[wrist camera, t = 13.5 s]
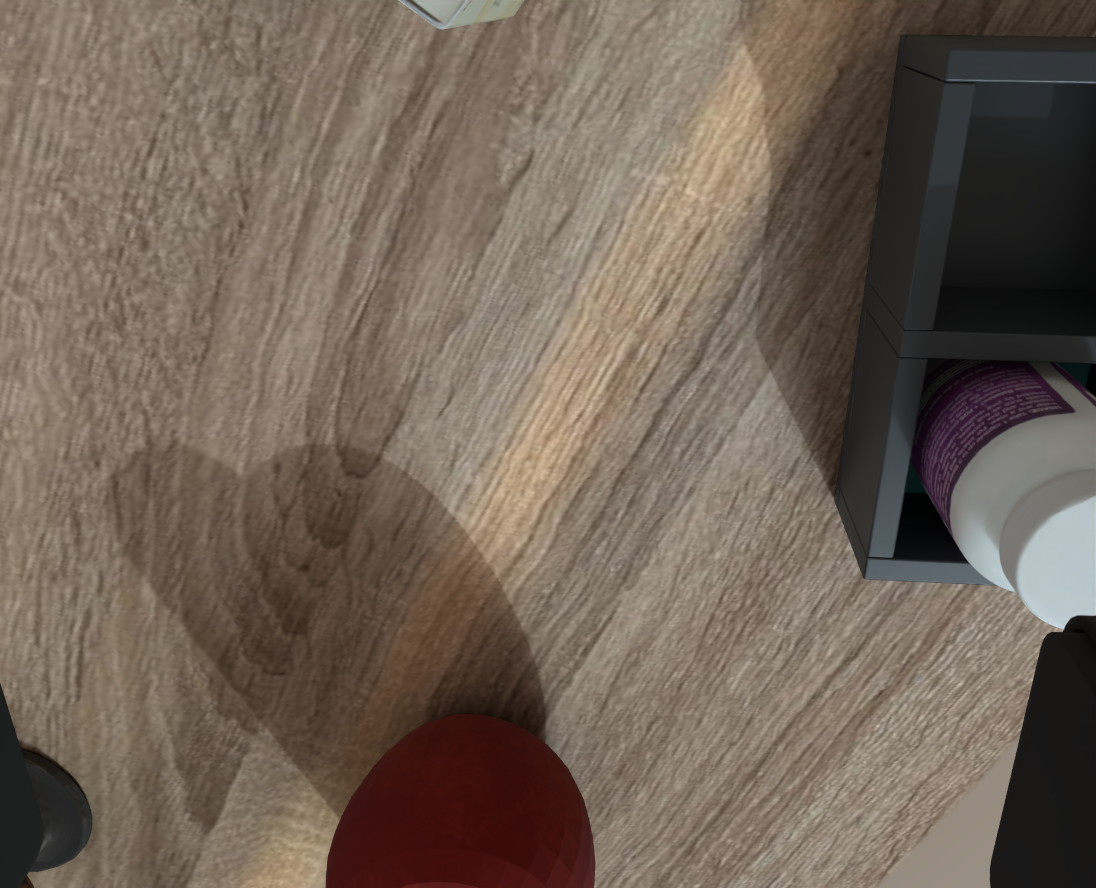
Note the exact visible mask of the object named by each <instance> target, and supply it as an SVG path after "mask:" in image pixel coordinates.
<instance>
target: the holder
mask: <svg viewBox="0 0 1096 888" xmlns="http://www.w3.org/2000/svg"><path fill="white" fill-rule="evenodd" d="M928 358H938V359H968V360H998V361H1028V362H1057V363H1058V364H1059V365H1060V366H1061V367H1063V368H1064V369H1065V370H1066V371H1067V372H1068V373H1069V374H1070V375H1071V376H1073V377H1074V378H1075V379H1076V380H1077V381H1078V382H1079V383H1081V384H1082V385H1083V386H1084V387H1085V388H1086V389H1087V390H1088V391H1089V392H1091V393H1092V394H1093V395H1094V396H1095V397H1096V37H1045V36H970V35H901V37H900V44H899V51H898V58H897V65H896V72H895V79H894V86H893V93H892V100H891V107H890V114H889V121H888V128H887V135H886V142H885V149H884V156H883V163H882V170H881V177H880V184H879V191H878V198H877V205H876V212H875V219H874V226H873V233H872V240H871V247H870V254H869V261H868V268H867V275H866V282H865V289H864V297H863V304H862V311H861V318H860V325H859V332H858V339H857V346H856V353H855V360H854V367H853V374H852V381H851V388H850V395H849V402H848V409H847V416H846V423H845V430H844V437H843V444H842V451H841V458H840V465H839V472H838V479H837V486H836V493H835V500H834V501H835V504H836V506H837V508H838V511H839V514H840V517H841V519H842V522H843V525H844V527H845V530H846V533H847V535H848V538H849V541H850V543H851V546H852V549H853V551H854V554H855V557H856V560H857V562H858V565H859V568H860V570H861V573H862V576H863V578H864V579H870V580H891V581H912V582H934V583H955V584H976V585H996V584H994V583H992V582H991V581H989V580H988V579H986V578H985V577H983V576H982V575H981V574H980V573H979V572H978V571H977V570H975V569H974V568H973V566H972V565H971V564H970V563H969V562H968V561H967V559H966V558H965V557H964V555H963V554H962V552H961V551H960V549H959V547H958V546H957V544H956V542H955V540H954V539H953V537H952V535H951V533H950V532H949V530H948V528H947V527H946V525H945V523H944V522H943V520H942V518H941V516H940V514H939V512H938V511H937V509H936V507H935V506H934V504H933V502H932V501H931V499H930V497H929V495H928V493H927V492H926V490H925V488H924V486H923V484H922V482H921V481H920V479H919V476H918V475H917V473H916V471H915V470H914V468H913V466H912V465H911V463H910V459H911V453H912V448H913V442H914V436H915V431H916V425H917V419H918V413H919V408H920V402H921V396H922V390H923V385H924V379H925V373H926V367H927V362H928V360H927V359H928ZM997 586H998V585H997Z"/></svg>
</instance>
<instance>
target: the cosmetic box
mask: <svg viewBox="0 0 1096 888" xmlns="http://www.w3.org/2000/svg"><path fill="white" fill-rule="evenodd" d="M398 1H400V2H401V3H402V4H404V5H405V6H407V7H408V8H409V9H411V10H412V11H413V12H415V13H416V14H417V15H419V16H420V17H422V18H423V19H424V20H426V21H427V22H429V23H430V24H431V25H433V26H435V27H437V28H439V29H447V28H452V27H458V26H464V25H470V24H477V23H483V22H488V21H494V20H500V19H505V18H511V17H513V16H514V15H515V13H516V12H517V10H518V9H519V7H520V6H521V5H522V3H523V2H524V0H398Z"/></svg>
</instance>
